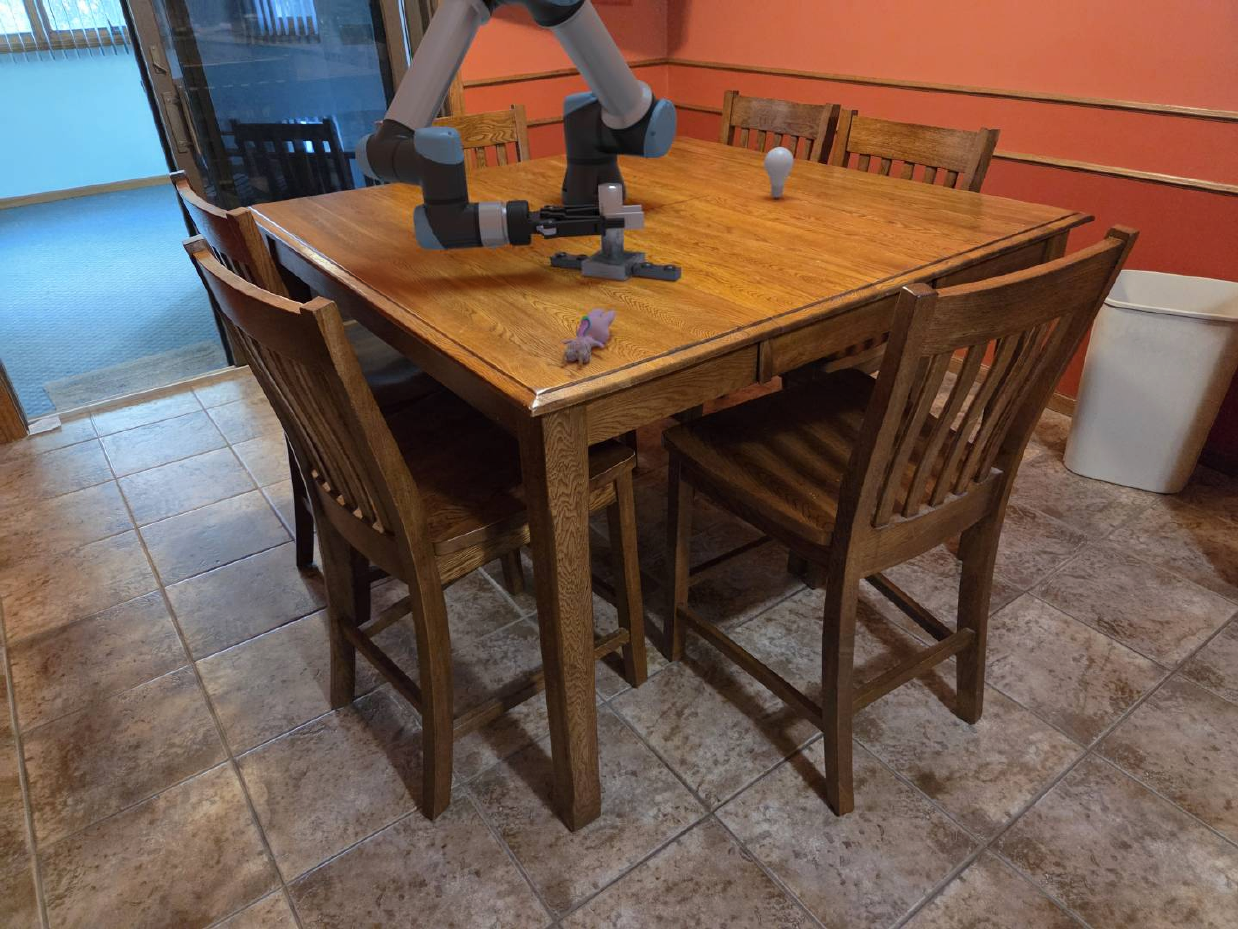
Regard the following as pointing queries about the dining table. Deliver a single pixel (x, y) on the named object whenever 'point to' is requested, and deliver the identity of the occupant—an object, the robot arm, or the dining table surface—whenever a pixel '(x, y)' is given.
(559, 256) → the grey mounting bracket
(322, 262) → the dining table surface
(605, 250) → the pin
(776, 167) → the lightbulb
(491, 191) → the dining table surface
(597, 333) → the purple toy figure
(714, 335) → the dining table surface
